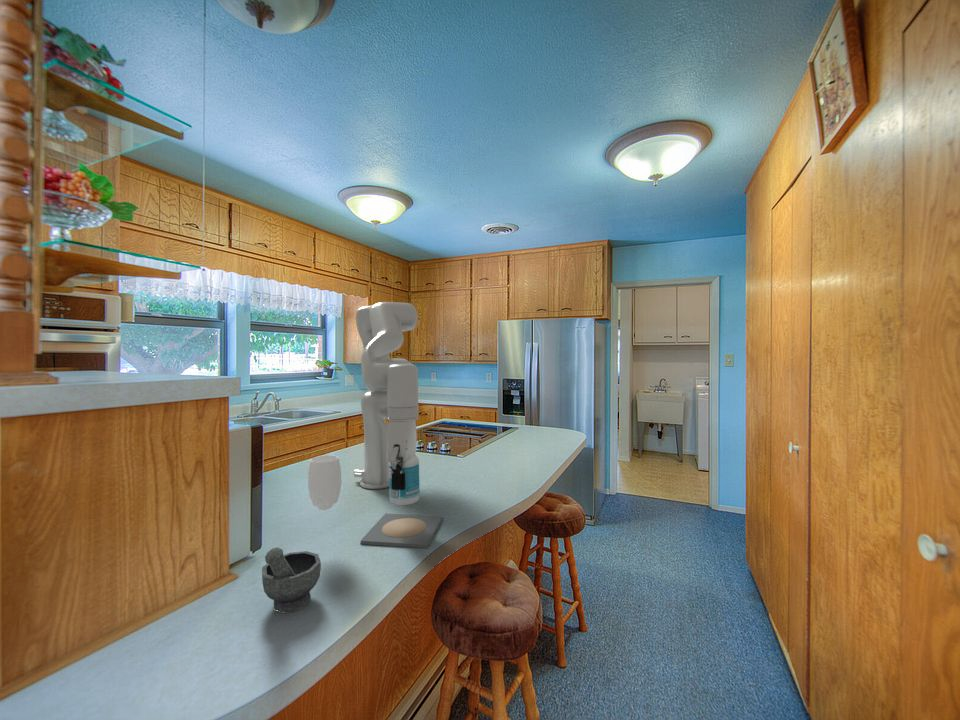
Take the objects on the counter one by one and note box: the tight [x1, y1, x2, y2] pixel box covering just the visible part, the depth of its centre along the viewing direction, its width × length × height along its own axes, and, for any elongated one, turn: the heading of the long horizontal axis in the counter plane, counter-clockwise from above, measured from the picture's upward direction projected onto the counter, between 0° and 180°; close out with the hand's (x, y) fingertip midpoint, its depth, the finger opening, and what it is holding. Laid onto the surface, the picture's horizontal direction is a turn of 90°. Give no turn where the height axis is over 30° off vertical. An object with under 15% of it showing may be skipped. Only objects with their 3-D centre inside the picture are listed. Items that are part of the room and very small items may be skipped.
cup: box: [307, 454, 342, 511], centre depth 93 cm, size 7×7×21 cm
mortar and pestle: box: [261, 546, 322, 614], centre depth 73 cm, size 11×9×12 cm
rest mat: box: [360, 512, 444, 549], centre depth 102 cm, size 16×16×1 cm
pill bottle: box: [388, 448, 421, 506], centre depth 101 cm, size 8×7×14 cm
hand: (403, 483), depth 102 cm, fingers closed on pill bottle, 7 cm apart
